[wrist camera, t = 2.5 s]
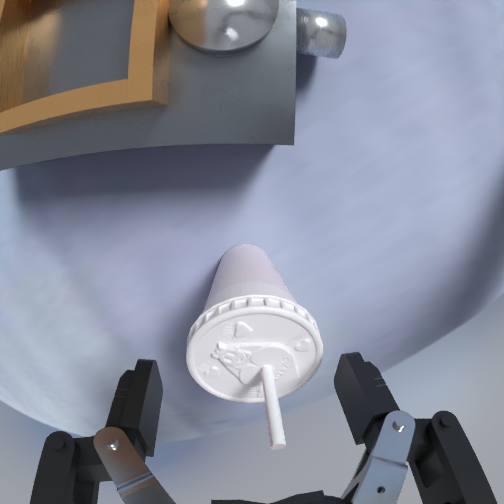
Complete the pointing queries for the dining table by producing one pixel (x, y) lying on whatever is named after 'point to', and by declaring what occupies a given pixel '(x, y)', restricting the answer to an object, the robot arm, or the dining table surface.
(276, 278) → the smoothie
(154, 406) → the robot arm
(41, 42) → the grey flat boxy piece
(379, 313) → the dining table surface
